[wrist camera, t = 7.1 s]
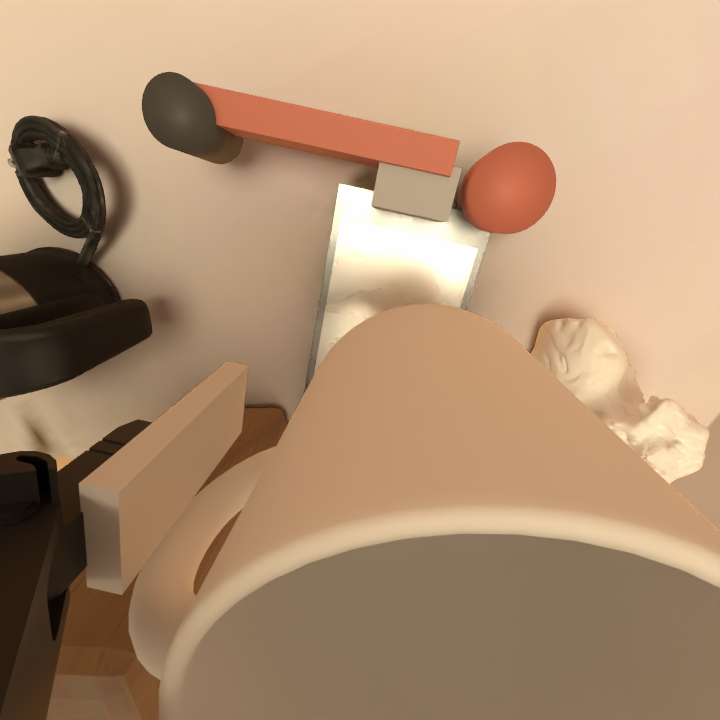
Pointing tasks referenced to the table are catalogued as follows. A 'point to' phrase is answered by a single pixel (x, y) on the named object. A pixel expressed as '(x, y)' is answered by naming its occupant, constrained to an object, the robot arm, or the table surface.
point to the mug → (436, 553)
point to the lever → (357, 153)
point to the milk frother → (59, 277)
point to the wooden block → (111, 617)
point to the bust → (620, 395)
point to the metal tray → (390, 265)
